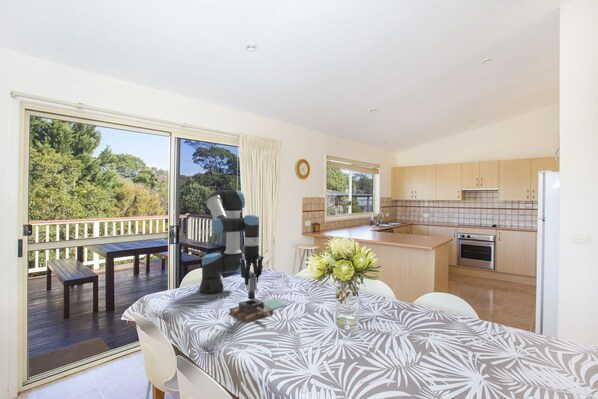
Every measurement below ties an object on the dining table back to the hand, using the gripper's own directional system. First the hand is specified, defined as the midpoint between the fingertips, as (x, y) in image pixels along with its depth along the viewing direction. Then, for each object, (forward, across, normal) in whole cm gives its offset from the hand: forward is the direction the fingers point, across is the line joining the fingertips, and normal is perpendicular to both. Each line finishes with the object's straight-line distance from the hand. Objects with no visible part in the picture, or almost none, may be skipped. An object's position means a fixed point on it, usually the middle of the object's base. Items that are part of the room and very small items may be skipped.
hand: (251, 290), depth 154 cm
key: (+4, 0, 0) cm, 4 cm away
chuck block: (+12, 0, -4) cm, 13 cm away
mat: (+12, +16, +3) cm, 20 cm away
